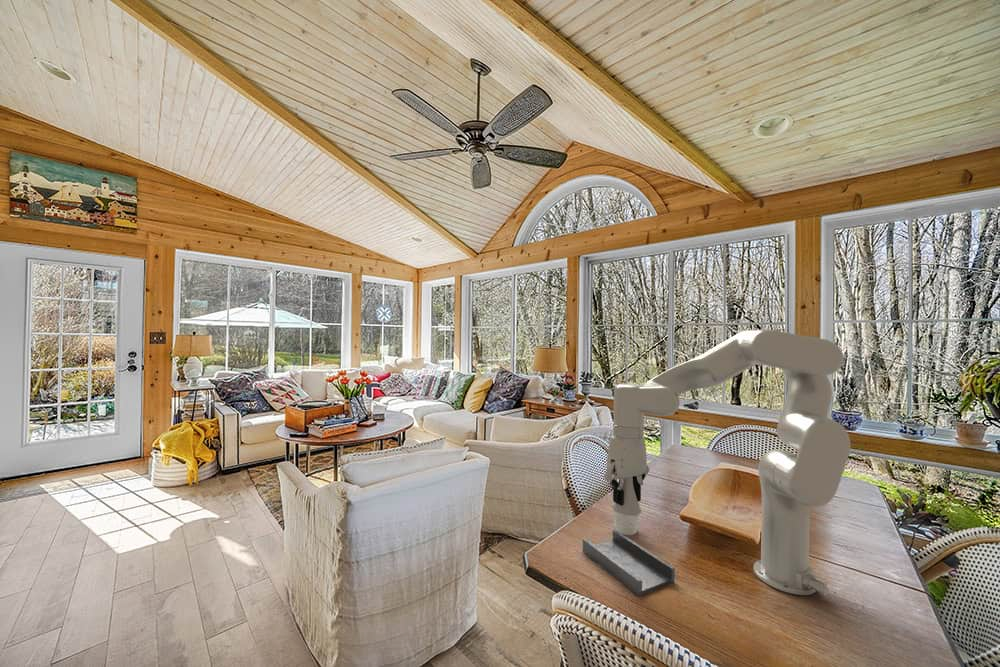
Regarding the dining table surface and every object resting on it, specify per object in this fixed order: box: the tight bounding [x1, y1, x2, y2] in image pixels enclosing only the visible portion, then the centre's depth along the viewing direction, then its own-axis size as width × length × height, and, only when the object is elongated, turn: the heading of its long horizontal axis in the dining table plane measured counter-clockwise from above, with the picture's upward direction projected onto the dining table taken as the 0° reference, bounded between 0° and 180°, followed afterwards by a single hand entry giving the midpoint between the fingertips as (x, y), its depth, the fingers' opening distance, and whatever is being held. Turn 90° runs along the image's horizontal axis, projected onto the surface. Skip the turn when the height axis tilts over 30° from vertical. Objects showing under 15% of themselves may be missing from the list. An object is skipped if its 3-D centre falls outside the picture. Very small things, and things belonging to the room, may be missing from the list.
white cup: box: [612, 500, 641, 536], centre depth 119 cm, size 8×8×10 cm
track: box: [582, 529, 676, 597], centre depth 100 cm, size 20×12×4 cm, turn 27°
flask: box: [612, 477, 642, 516], centre depth 100 cm, size 7×7×10 cm
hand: (626, 500), depth 100 cm, fingers closed on flask, 5 cm apart
